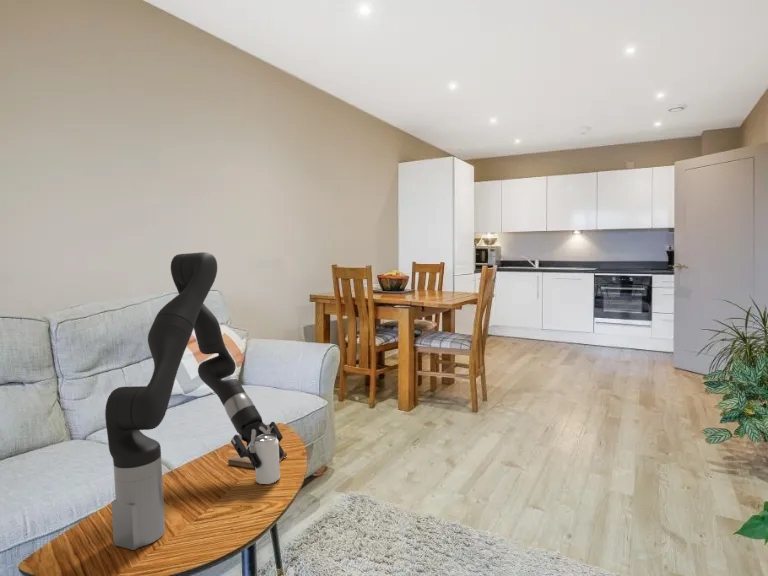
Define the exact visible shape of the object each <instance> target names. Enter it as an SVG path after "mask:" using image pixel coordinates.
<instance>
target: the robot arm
mask: <svg viewBox="0 0 768 576" xmlns="http://www.w3.org/2000/svg"><path fill="white" fill-rule="evenodd" d="M217 272H218V263H217V259H216V257H215V255H213V254H212V253H209V252H191V253H189V252H188V253H180V254H176V255H174V256H173V258H172V259H171V262H170V275H171V278H172V280H173V283H174V285H175V288H176V290H177V292H178V294H177V295H176V296H175V297H174V298H172V299H171V300H169V301H168V302H167V303H166V304H165V305H164V306H163V307H162V308H161V309H160V310H159V311H158V312H157V314H156V316H155V318H154V320H153V322H152V325H151V327H150V329H149V331H148V335H147V344H148V348H149V352H150V354H151V357H152V361H153V365H154V369H153V372H152V376H151V379H150V381H149V382H148V384H147V385H143V386H137V385H136V386H135V385H134V386H120V387H119V386H118V387H117V388H114V389H113V390H112V392H111V393H110V394H109V395H108V397H107V400H106V404H105V410H104V412H105V413H104V414H105V415H104V417H105V426H106V434H107V443H108V451H109V453H110V455H111V457H112V461H113V462H112V463H113V464H112V465H113V475H114V476H113V478H114V479H113V480H114V494H115V499H114V500H112V501H111V506H110V507H111V521H112V522H111V523H112V536H113V539H112V540H113V546H116V547H120V548H124V549H128V550H131V551H135V550H137V549H139V548H141V547H144V546H148V545H150V544H153V543H154V542H156V541H158V540H159V539H160V538H162V537H163V535H165V533H166V523H165V521H166V520H165V519H166V517H165V503H164V502H165V501H164V488H163V487H164V483H163V466H162V465H163V464H162V451H161V450H162V449H161V448H162V447H161V445H160V442H159V441H157V440H156V439H154V438H151V437H149V436H147V435H145V434H144V433H143V432H142V431H150V430H154V429H155V428H157V427H159V426H160V424H161V423H162V422H163V419H164V418H165V417H166V413H167V409H168V406H169V404H170V400H171V396H172V392H173V388H174V384H175V380H176V377H177V374H178V370H179V368H180V365H181V361H182V360H183V357H184V354H185V351H186V349H187V347H188V344H189V342H190V339H191V337H192V333H193V331H194V333H195V339H196V341H197V345H198V350H199V352H200V353H201V354H203V355H214V354H218V355H217V356H213V357H212V358H209V359H206V360H203V361H202V362H201V363H200V364H198V368H197V374H198V376H199V378H200V380H201V381H202V382H203V383H204V384H205V385H206V386H207V387H208V388H210V389H211V390H212V391H213V392H214V394H216V395H217V397H218V398H219V400H220V403H222V405H223V407H224V409H225V412H226V415H227V417H228V419H229V420H230V422H231V423H232V425H233V427H234V429H235V431H236V432H237V434H235V435H234V436H233V437H232V438H231V440H230V443H231V444H232V446H233V448H234V450H235V451H236V454H238V455H239V456H240V458H243V457H248V458H249V459H250V461H251V463H252V465H253V466H254V467H256V469H258V468H260V466H261V465H262V463H261V461H260V459H259V458H258V456H257V454H256V452H255V453H254V446H255V441H256V437H257V436H259V435H263V434H275V435H276V436H277V437H276V438H277V440H278V443H279V459H280V458H282V457H283V456H284V452H285V451H284V449H283V448H282V446H281V443H280V442H281V441H282V440H283V439H284V438H283V437H284V436H283V435H282V433H281V431H280V430H279V428H278V425H277V424H276V423H275V421H271V422H270V423H269V424H268V423H267V424H266V423H264V422H263V417H262V416H261V414H260V412H259V411H258V409H257V408H256V405H255V404H254V402H253V400H252V399H251V398H250V396H249V395H248V393H247V392H246V391H245V389H244V387H243V385H242V383H241V382H240V381H239V380H238V379H235V378H231V379H226V378H228V377H231V376H232V375H234V373H235V371H236V367H237V366H236V362H235V360H234V358H233V357H232V355H231V353H230V352H229V351H228V349H227V346H226V344H225V342H224V338H223V335H222V334H223V333H222V330H221V326H220V323H219V321H218V319H217V317H216V316H215V315H214V314H213V312H212V311H211V310H210V309H209V308H208V307H207V306H206V305H205V304H204V302H205V300H206V299H207V297H208V294H209V292H210V291H211V289H212V287H213V286H214V283H215V280H216V277H217V274H218V273H217ZM224 379H225V380H224ZM243 442H245V444H244V443H243Z"/></svg>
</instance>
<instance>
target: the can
mask: <svg viewBox="0 0 768 576" xmlns="http://www.w3.org/2000/svg"><path fill="white" fill-rule="evenodd" d="M276 437H277V436H276V435H275V434H263V435H259V436H257V437H256V441H255V446H254V450H255V452H256V454H257V456H258V458H259V459H260V461H261V463H262V465H261V466H260V468H258V469H256V467H255V469H254V470H255V481H256V483H257V484H258V483H259V485H261V484H269V485H272V484H271V483H273V484H275V483H277V482H278V481H279V480H280V478H281V469H280V462H279V444H280V442H279V443H278V440H277V438H276ZM277 480H278V481H277ZM276 481H277V482H276ZM274 482H275V483H274Z"/></svg>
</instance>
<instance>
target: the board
mask: <svg viewBox="0 0 768 576" xmlns="http://www.w3.org/2000/svg"><path fill="white" fill-rule="evenodd" d="M254 453H255V450H254ZM286 456H287V457H288V453H287V452H285V451H284V456H283V457H282V458H280V459H279V461H280V460H281V459H283V458H284V457H286ZM287 457H286V458H287ZM283 460H284V459H283ZM227 462H228V465H229V466H235V467H242V468H248V469H254V468H255V467H254V466H253V465H252V463H251V461H250V459H249V458H248V457H243V458H240V456H239V455H238V453H236V454H235V455H233V456H232V457H230V458H229V459H228V460H227Z"/></svg>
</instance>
